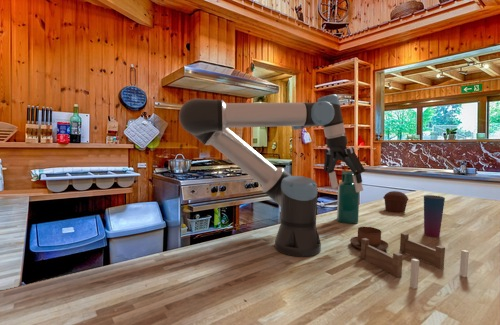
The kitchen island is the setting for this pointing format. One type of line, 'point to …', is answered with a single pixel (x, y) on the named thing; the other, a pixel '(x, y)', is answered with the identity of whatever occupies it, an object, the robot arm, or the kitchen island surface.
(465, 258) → the posts
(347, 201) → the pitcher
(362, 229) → the cup and saucer
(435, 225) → the cup
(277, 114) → the robot arm
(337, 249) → the kitchen island surface
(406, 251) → the brown wooden rail pair
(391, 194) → the muffin
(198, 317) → the kitchen island surface
